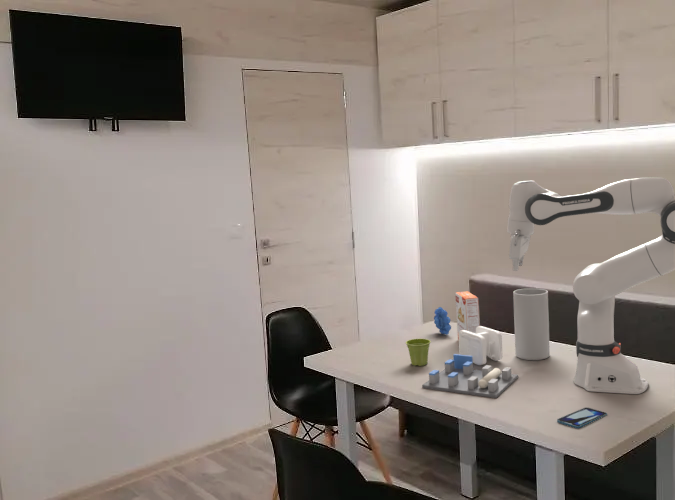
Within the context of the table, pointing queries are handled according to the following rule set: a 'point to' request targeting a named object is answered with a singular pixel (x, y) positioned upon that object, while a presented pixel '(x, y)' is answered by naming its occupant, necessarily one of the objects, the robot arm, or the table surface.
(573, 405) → the table surface
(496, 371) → the white capsule
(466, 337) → the cable organizer
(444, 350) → the table surface
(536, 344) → the cylinder vase
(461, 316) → the cracker box
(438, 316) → the grapes
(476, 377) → the grey peg board
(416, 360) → the plant pot
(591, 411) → the smartphone
